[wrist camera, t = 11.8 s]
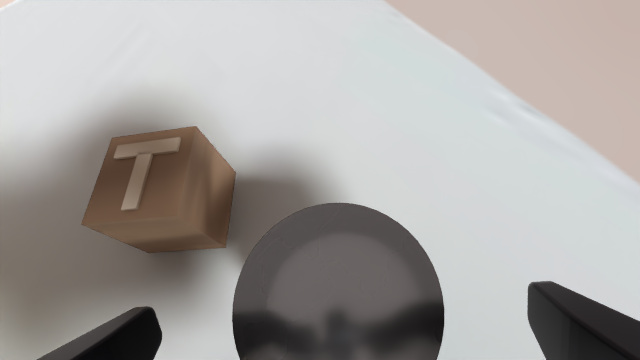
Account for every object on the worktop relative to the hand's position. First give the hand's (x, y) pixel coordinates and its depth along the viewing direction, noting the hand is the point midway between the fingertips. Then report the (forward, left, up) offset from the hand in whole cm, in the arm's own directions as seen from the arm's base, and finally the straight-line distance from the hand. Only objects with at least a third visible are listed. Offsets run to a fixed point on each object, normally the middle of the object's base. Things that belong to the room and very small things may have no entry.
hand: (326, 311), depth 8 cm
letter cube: (+7, +10, -9) cm, 15 cm away
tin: (0, 0, -9) cm, 9 cm away
